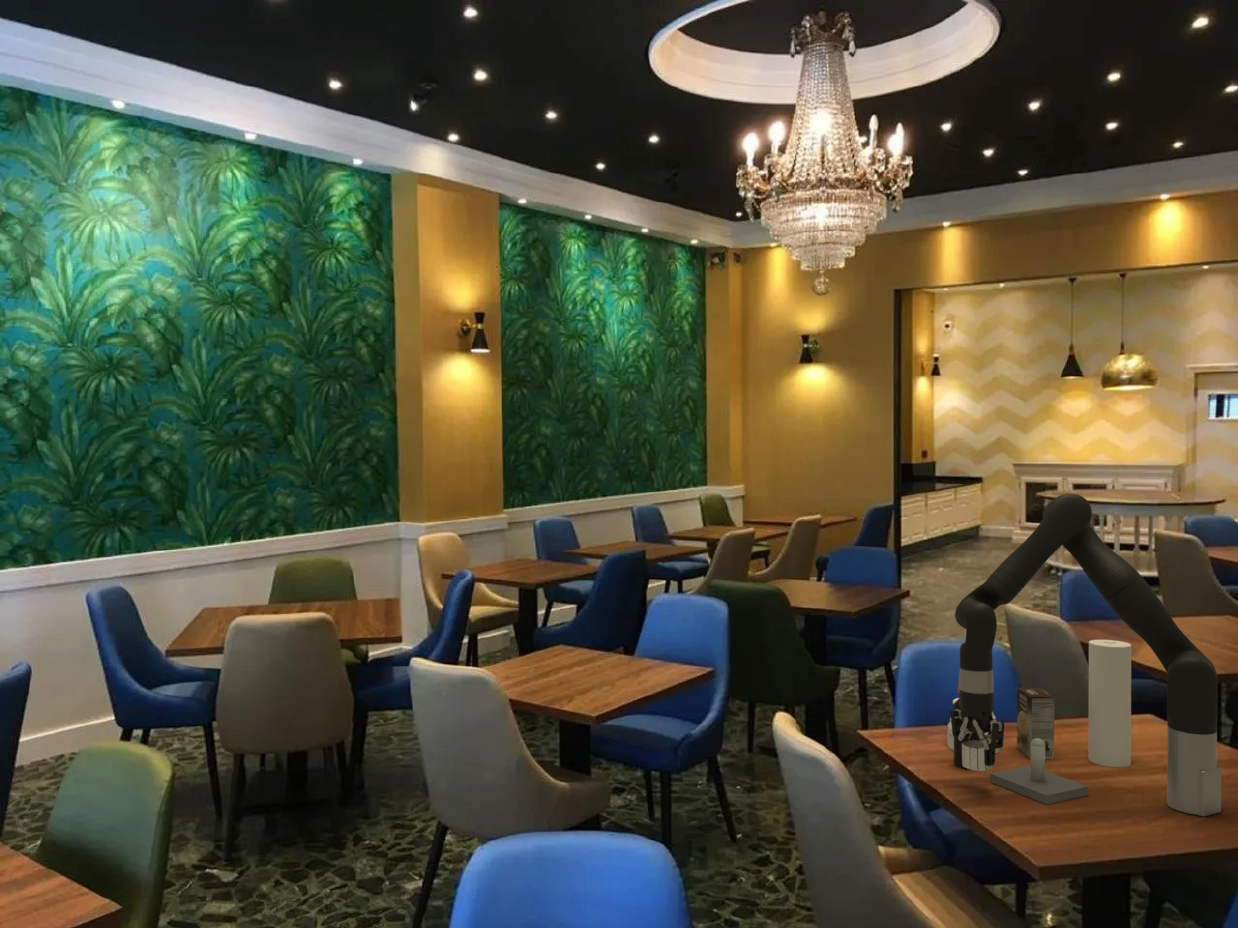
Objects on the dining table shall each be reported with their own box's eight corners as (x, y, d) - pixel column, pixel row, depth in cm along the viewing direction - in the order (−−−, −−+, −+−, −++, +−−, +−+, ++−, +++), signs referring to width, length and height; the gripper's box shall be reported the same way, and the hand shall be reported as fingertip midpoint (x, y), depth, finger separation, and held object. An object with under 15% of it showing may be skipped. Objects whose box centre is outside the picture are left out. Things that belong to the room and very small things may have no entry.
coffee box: (1015, 748, 248) (1015, 686, 248) (1040, 748, 248) (1040, 687, 248) (1030, 759, 239) (1030, 695, 239) (1055, 759, 239) (1056, 696, 239)
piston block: (1087, 795, 214) (1088, 744, 214) (1046, 804, 209) (1047, 752, 208) (1029, 773, 229) (1029, 725, 228) (989, 781, 223) (989, 732, 223)
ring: (998, 767, 216) (998, 745, 216) (978, 772, 214) (977, 750, 214) (976, 760, 222) (976, 738, 222) (956, 764, 219) (956, 742, 219)
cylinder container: (1105, 752, 244) (1105, 636, 244) (1139, 763, 236) (1139, 642, 235) (1079, 758, 240) (1080, 639, 240) (1113, 769, 232) (1113, 646, 231)
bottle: (989, 766, 234) (989, 685, 233) (970, 771, 230) (970, 689, 230) (966, 758, 240) (966, 679, 239) (947, 763, 236) (948, 683, 236)
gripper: (1013, 692, 213) (1014, 767, 213) (964, 679, 226) (965, 750, 226) (989, 696, 210) (990, 772, 210) (940, 683, 223) (941, 754, 223)
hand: (977, 760), depth 218 cm, fingers closed on ring, 6 cm apart
